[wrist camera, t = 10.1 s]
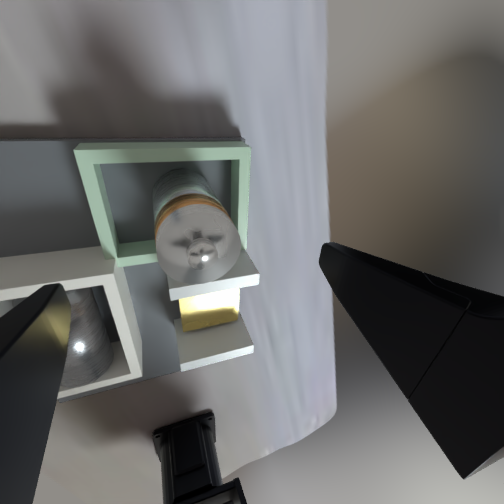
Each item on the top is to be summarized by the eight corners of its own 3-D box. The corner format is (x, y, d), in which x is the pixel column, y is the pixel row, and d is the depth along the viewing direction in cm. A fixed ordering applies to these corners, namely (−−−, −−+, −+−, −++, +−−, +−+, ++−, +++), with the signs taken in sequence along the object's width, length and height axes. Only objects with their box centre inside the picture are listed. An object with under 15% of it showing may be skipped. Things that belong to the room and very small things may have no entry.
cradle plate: (233, 310, 21) (237, 319, 20) (181, 321, 20) (183, 332, 19) (234, 261, 18) (239, 269, 18) (174, 270, 17) (176, 280, 16)
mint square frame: (236, 350, 26) (252, 395, 22) (61, 395, 21) (45, 461, 18) (242, 137, 16) (273, 155, 12) (-89, 139, 11) (-199, 169, 7)
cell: (213, 221, 17) (243, 284, 12) (156, 227, 16) (163, 298, 11) (211, 166, 15) (246, 212, 10) (147, 169, 14) (149, 222, 9)
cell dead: (115, 336, 19) (111, 378, 16) (60, 348, 18) (47, 395, 15) (91, 261, 16) (81, 299, 13) (22, 271, 15) (-5, 313, 12)
